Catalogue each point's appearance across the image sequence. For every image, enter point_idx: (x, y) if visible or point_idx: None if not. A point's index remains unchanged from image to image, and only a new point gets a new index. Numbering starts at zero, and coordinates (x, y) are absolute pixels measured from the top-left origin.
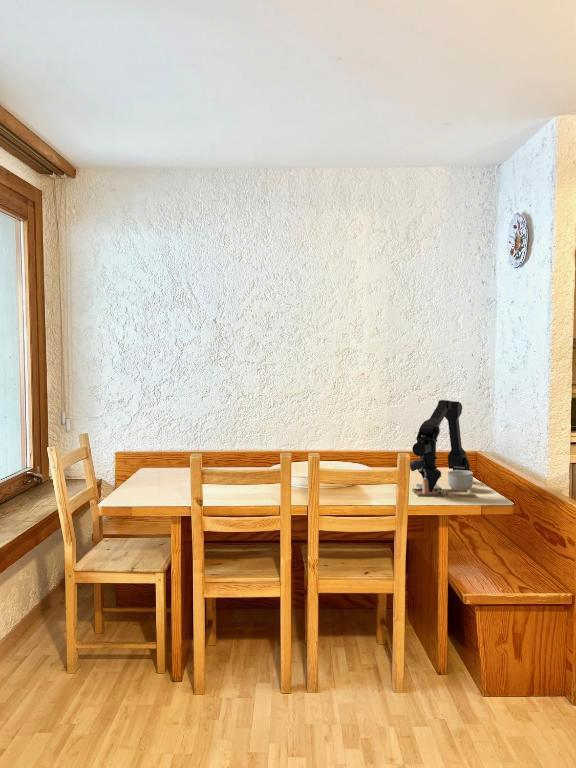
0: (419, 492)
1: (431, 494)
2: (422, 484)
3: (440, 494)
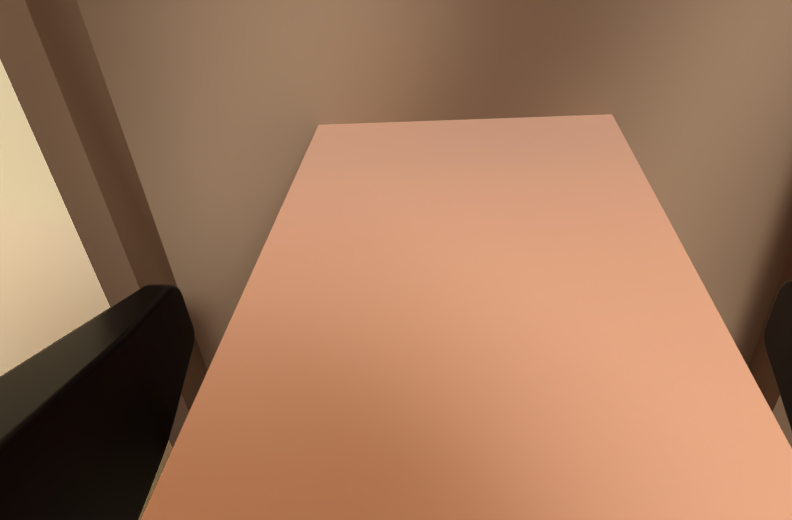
0: (646, 25)
1: (105, 282)
2: (686, 272)
3: (173, 439)
